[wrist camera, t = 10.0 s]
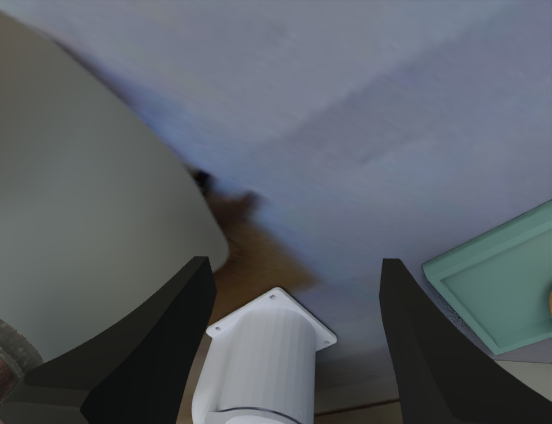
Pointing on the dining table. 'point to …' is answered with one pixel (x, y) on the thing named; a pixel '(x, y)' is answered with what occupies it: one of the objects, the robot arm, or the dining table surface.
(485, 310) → the tray
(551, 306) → the ball
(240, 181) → the dining table surface
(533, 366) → the wall
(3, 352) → the tankard
